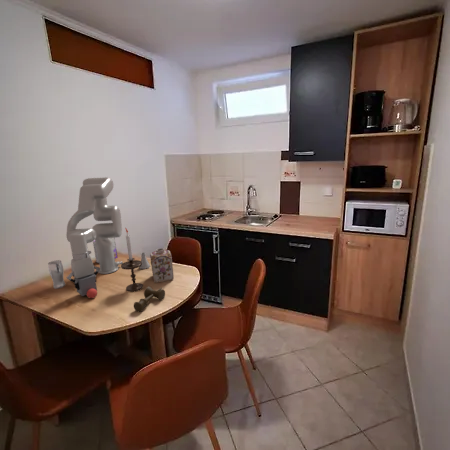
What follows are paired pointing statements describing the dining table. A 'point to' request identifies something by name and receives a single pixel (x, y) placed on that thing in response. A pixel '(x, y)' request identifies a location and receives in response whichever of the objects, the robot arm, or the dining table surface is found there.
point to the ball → (92, 293)
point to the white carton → (113, 249)
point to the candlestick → (131, 267)
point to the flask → (144, 261)
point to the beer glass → (56, 273)
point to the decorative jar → (161, 265)
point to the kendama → (149, 297)
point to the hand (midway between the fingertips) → (86, 286)
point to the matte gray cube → (86, 284)
